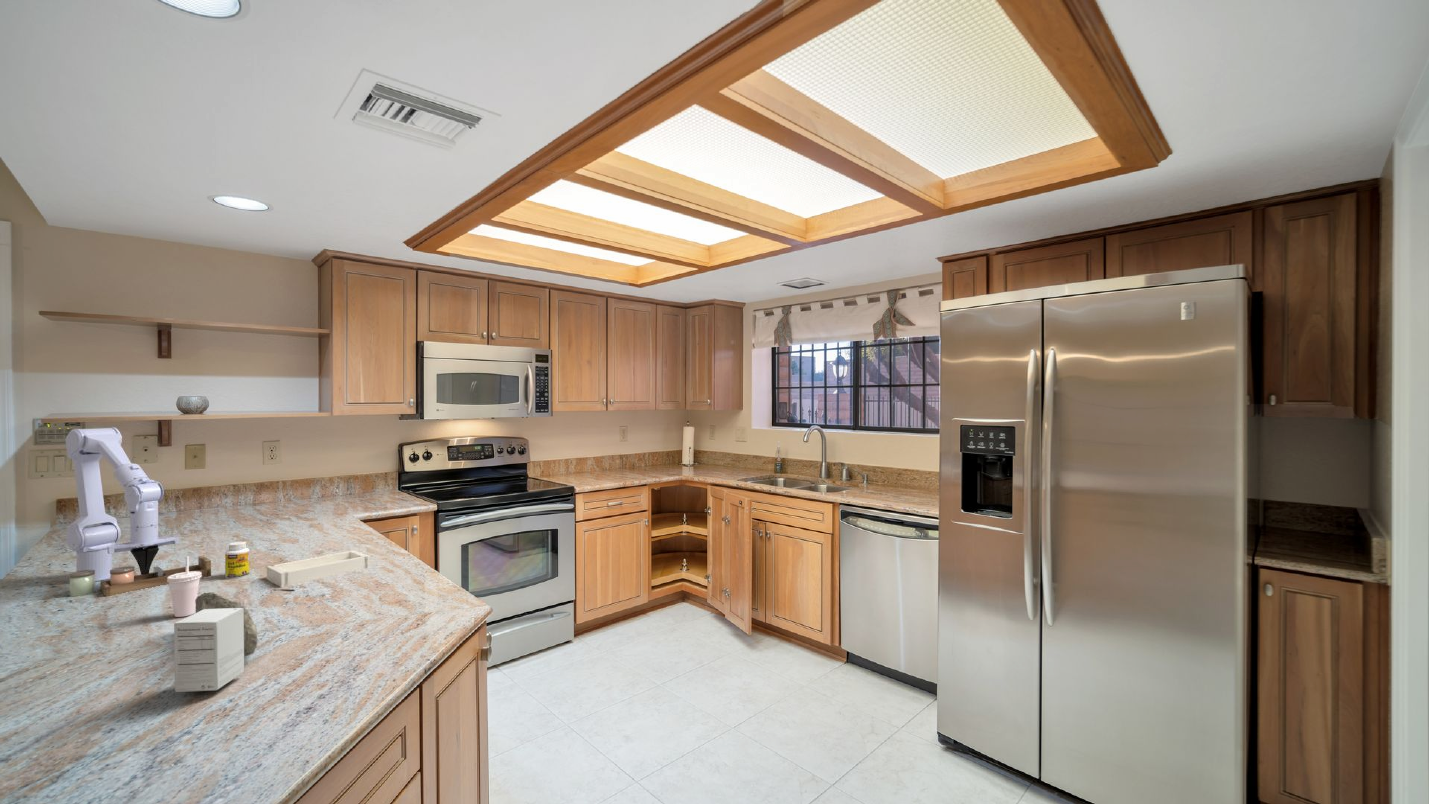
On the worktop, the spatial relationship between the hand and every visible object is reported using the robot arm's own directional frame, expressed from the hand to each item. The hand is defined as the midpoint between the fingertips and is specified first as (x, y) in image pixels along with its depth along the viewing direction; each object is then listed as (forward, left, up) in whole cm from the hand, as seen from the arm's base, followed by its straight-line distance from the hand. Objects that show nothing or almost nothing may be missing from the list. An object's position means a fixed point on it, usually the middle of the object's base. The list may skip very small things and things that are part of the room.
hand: (144, 573), depth 167 cm
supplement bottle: (+11, +18, -4) cm, 22 cm away
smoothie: (+38, +1, -4) cm, 38 cm away
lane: (0, +2, -3) cm, 4 cm away
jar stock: (0, -5, -4) cm, 6 cm away
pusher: (0, +2, -3) cm, 4 cm away
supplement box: (+88, -5, -4) cm, 88 cm away
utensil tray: (+27, +34, -3) cm, 44 cm away
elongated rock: (+69, +2, -4) cm, 69 cm away
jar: (-4, -12, -4) cm, 13 cm away
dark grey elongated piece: (+32, +20, -9) cm, 39 cm away
